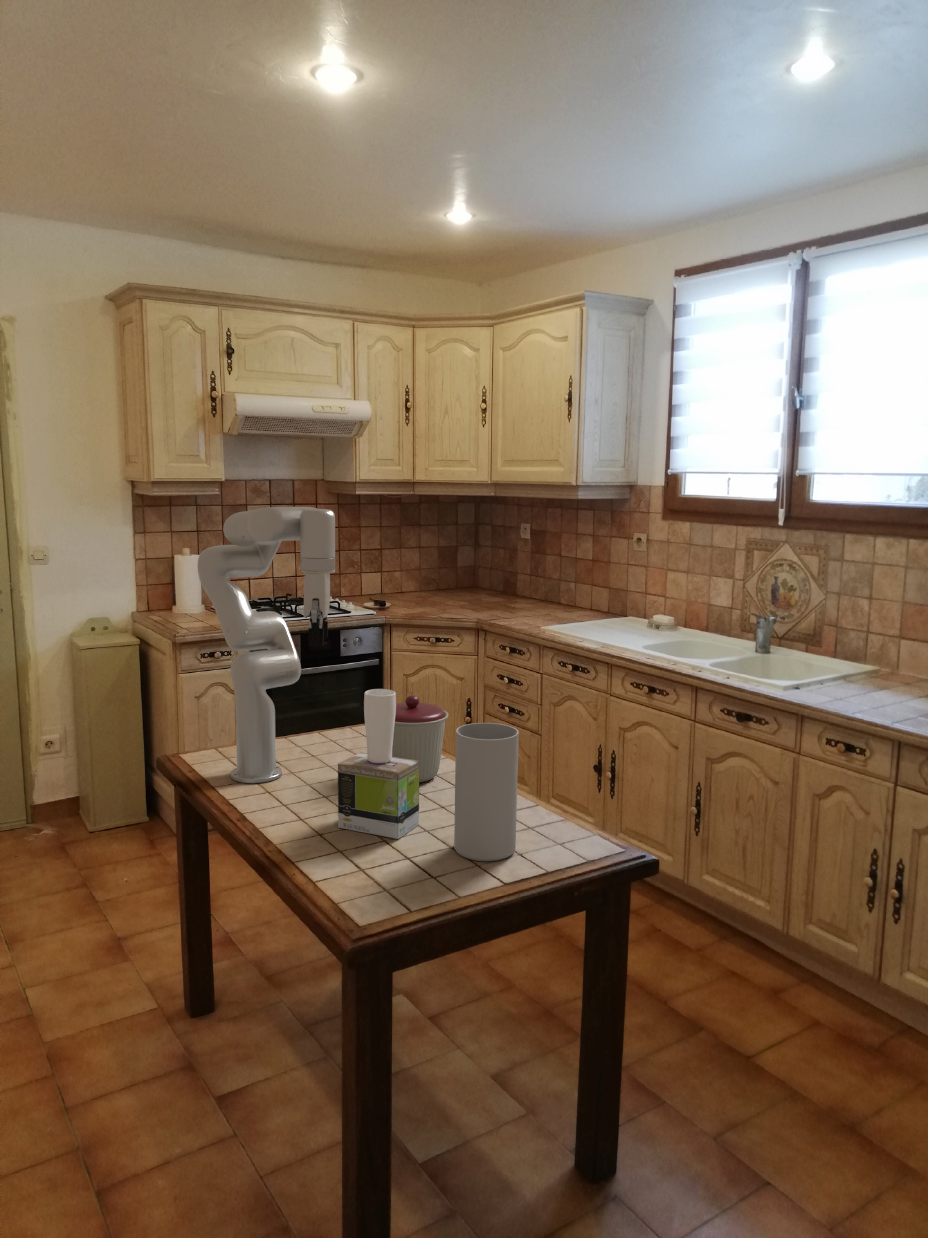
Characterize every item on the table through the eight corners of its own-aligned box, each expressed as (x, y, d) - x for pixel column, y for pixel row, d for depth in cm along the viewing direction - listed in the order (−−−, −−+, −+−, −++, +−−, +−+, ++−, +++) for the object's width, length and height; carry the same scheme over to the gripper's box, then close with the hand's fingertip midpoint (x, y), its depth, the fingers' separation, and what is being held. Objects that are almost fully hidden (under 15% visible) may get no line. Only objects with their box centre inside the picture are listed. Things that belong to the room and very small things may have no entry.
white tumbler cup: (390, 766, 189) (391, 697, 187) (359, 764, 190) (359, 694, 188) (399, 757, 196) (399, 689, 193) (369, 754, 197) (369, 687, 195)
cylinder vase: (455, 837, 190) (457, 722, 186) (514, 839, 189) (517, 723, 186) (452, 862, 177) (454, 739, 174) (516, 864, 177) (519, 740, 173)
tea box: (420, 825, 196) (420, 759, 194) (397, 841, 187) (398, 772, 185) (360, 813, 203) (360, 750, 200) (336, 828, 194) (336, 762, 191)
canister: (434, 763, 240) (435, 685, 236) (457, 784, 223) (458, 701, 220) (367, 769, 233) (368, 690, 230) (386, 792, 216) (387, 707, 213)
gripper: (305, 561, 206) (306, 635, 209) (295, 569, 189) (296, 649, 192) (338, 562, 206) (338, 635, 209) (331, 569, 189) (331, 649, 192)
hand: (318, 642), depth 200 cm, fingers open, 9 cm apart
